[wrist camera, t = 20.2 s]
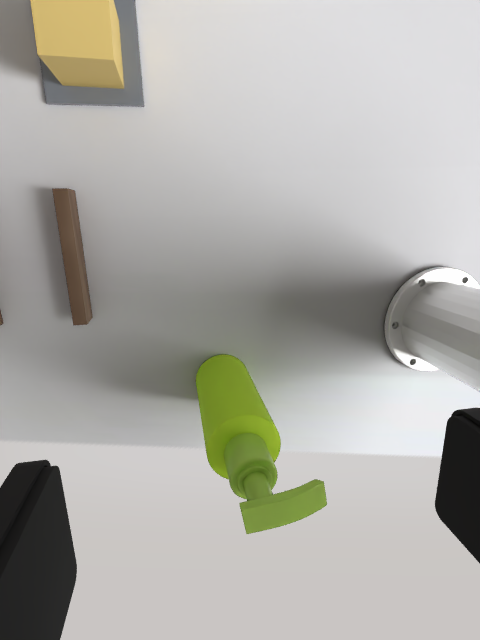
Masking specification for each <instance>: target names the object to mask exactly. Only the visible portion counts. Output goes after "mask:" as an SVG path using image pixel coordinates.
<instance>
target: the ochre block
mask: <svg viewBox="0 0 480 640" xmlns="http://www.w3.org/2000/svg"><path fill="white" fill-rule="evenodd" d="M30 1H31V8H32V16H33V23H34V31H35V39H36V46H37V54H38V56H39V57H40V58H41V60H42V61H43V62H44V63H45V64H46V66H47V67H48V68H49V69H50V71H51V72H52V73H53V74H54V76H55V77H56V78H57V79H58V80H59V82H60V83H61V84H62V85H63V86H80V87H98V88H116V89H124V79H123V66H122V53H121V40H120V28H119V19H118V15H117V11H116V7H115V4H114V0H30Z"/></svg>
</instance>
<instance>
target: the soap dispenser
mask: <svg viewBox="0 0 480 640" xmlns="http://www.w3.org/2000/svg"><path fill="white" fill-rule="evenodd" d="M196 386H197V393H198V400H199V406H200V413H201V419H202V426H203V433H204V439H205V446H206V453H207V458H208V461H209V463H210V466H211V467H212V468H213V470H214V471H215V472H216V473H217V474H219V475H220V476H222V477H224V478H226V479H229V482H230V486H231V488H232V490H233V492H234V493H235V494H236V495H237V496H239V497H241V498H244V499H247V501H246V502H242V503H240V508H241V512H242V516H243V521H244V525H245V529H246V533H247V534H249V533H254V532H259V531H263V530H267V529H272V528H276V527H280V526H283V525H287V524H290V523H292V522H295V521H298V520H301V519H303V518H305V517H307V516H309V515H311V514H313V513H314V512H316V511H318V510H320V509H322V508H323V507H325V506H326V505H327V502H326V494H325V487H324V482H323V481H320V480H313V481H310V482H308V483H306V484H304V485H302V486H300V487H297V488H295V489H291V490H288V491H285V492H281V493H277V494H274V495H273V493H272V491H271V490H272V489H273V487H274V485H275V484H276V481H277V470H276V467H275V465H274V462H275V461H276V459H277V457H278V454H279V451H280V445H281V442H280V436H279V433H278V431H277V429H276V427H275V425H274V423H273V421H272V419H271V417H270V415H269V413H268V411H267V409H266V407H265V405H264V403H263V401H262V399H261V397H260V395H259V393H258V391H257V389H256V387H255V385H254V383H253V381H252V379H251V377H250V375H249V373H248V371H247V369H246V367H245V365H244V364H243V363H242V362H241V361H240V360H239V359H238V358H236V357H234V356H231V355H217V356H213V357H211V358H209V359H208V360H206V361H205V362H204V363H203V364H202V365H201V366H200V368H199V370H198V372H197V375H196Z"/></svg>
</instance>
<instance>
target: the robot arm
mask: <svg viewBox="0 0 480 640" xmlns="http://www.w3.org/2000/svg"><path fill="white" fill-rule="evenodd" d="M385 338H386V342H387V345H388V347H389V349H390V351H391V353H392V354H393V355H394V356H395V358H396V359H397V360H399V361H400V362H401V363H402V364H404V365H406V366H407V367H409V368H411V369H415V370H418V371H426V372H428V371H436V370H442V371H443V372H445V373H447V374H449V375H450V376H452V377H454V378H456V379H458V380H459V381H461V382H463V383H465V384H467V385H468V386H470V387H472V388H474V389H475V390H477V391H479V392H480V286H479V284H478V283H477V281H476V280H475V279H474V278H473V277H472V276H471V275H469V274H467V273H466V272H464V271H462V270H458V269H455V268H449V267H435V268H431V269H427V270H424V271H422V272H420V273H418V274H416V275H415V276H413V277H412V278H410V279H409V280H408V281H407V282H406V283H405V284H404V285H403V286H402V287H401V288H400V289H399V290H398V292H397V293H396V294H395V296H394V297H393V299H392V301H391V303H390V305H389V308H388V311H387V314H386V319H385ZM435 508H436V512H437V514H438V516H439V518H440V519H441V520H442V522H443V523H444V524H445V525H446V526H447V527H448V528H449V529H450V530H451V532H452V533H453V534H454V535H455V536H456V537H457V538H458V539H459V541H460V542H461V543H462V544H463V545H464V546H465V547H466V548H467V550H468V551H469V552H470V553H471V554H472V555H473V556H474V557H475V558H476V560H477V561H478V562H479V563H480V408H470V409H462V410H456V411H454V412H453V414H452V416H451V417H450V418H449V419H448V421H447V427H446V433H445V440H444V446H443V453H442V460H441V466H440V473H439V480H438V487H437V493H436V500H435ZM76 573H77V564H76V558H75V553H74V547H73V541H72V536H71V530H70V525H69V519H68V514H67V508H66V503H65V497H64V492H63V487H62V480H61V475H60V470H59V468H58V466H50V463H49V461H47V460H40V461H32V462H23V463H18V464H16V465H15V466H14V467H13V469H12V470H11V472H10V473H9V475H8V476H7V478H6V479H5V481H4V483H3V484H2V486H1V488H0V640H60V638H61V634H62V630H63V627H64V623H65V619H66V616H67V612H68V608H69V604H70V601H71V597H72V593H73V590H74V586H75V581H76Z"/></svg>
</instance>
